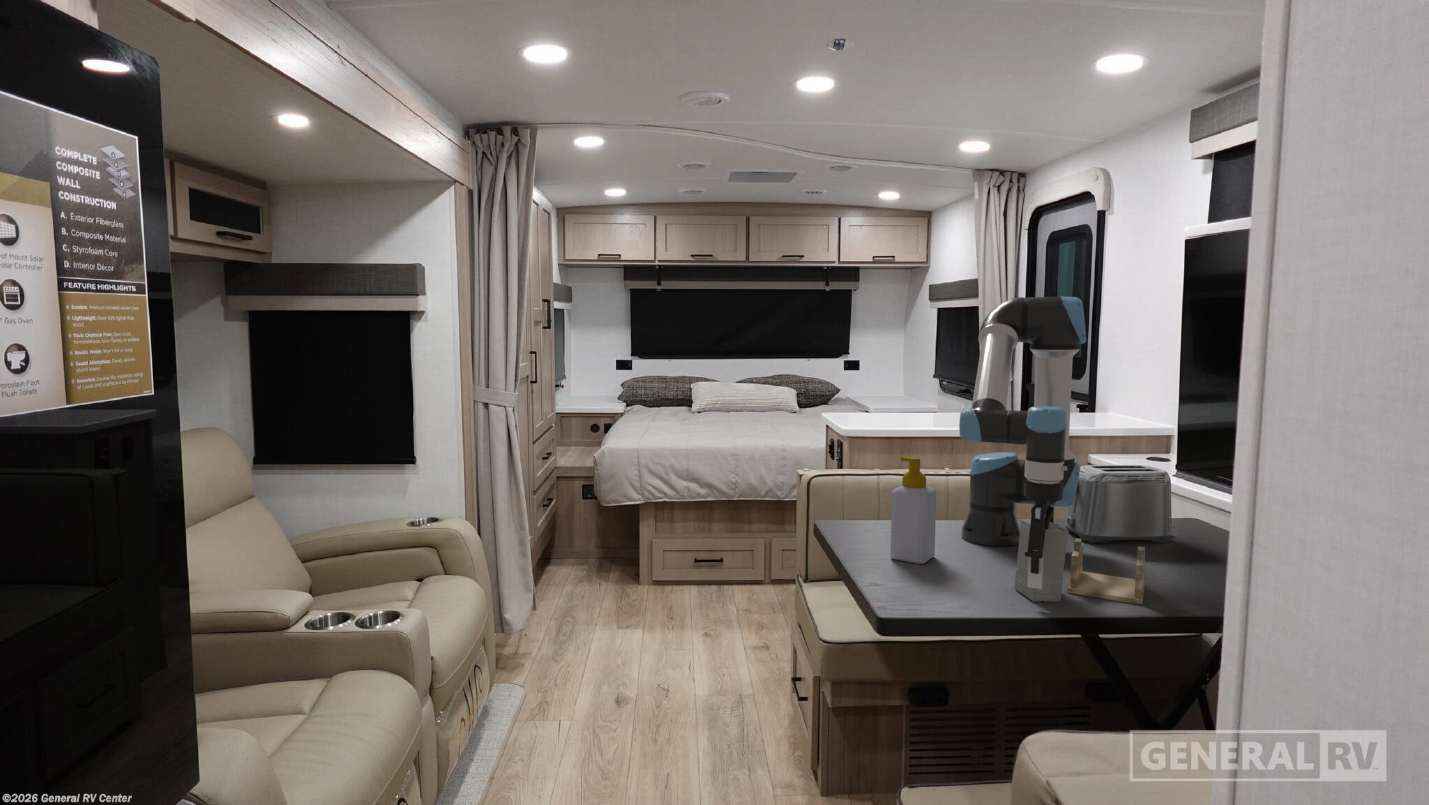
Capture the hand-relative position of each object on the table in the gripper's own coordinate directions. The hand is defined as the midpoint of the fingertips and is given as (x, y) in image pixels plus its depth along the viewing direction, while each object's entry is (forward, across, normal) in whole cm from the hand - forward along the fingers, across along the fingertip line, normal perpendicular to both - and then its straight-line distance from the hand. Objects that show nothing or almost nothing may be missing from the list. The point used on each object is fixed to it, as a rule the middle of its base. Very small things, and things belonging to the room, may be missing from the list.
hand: (1039, 578), depth 160 cm
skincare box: (+4, 0, 0) cm, 4 cm away
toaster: (+4, +60, -12) cm, 62 cm away
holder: (+4, +12, -12) cm, 17 cm away
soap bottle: (+4, +12, +31) cm, 33 cm away
